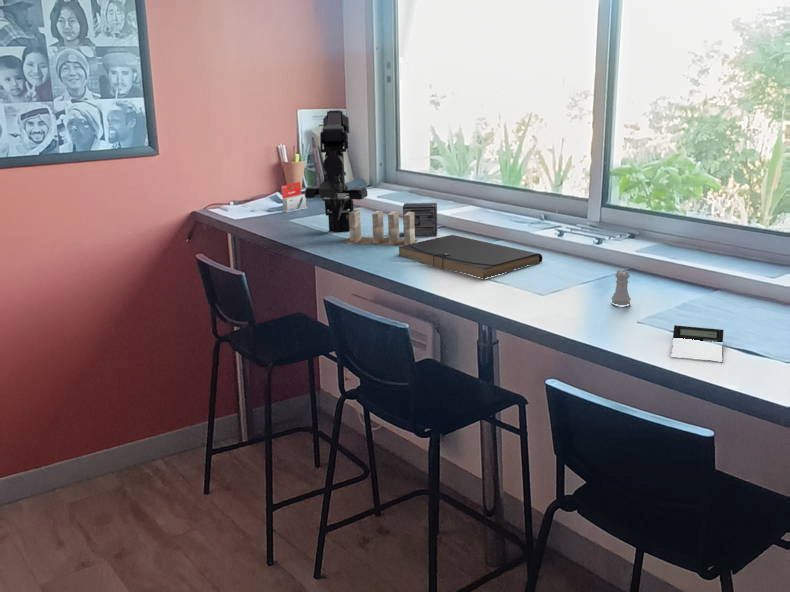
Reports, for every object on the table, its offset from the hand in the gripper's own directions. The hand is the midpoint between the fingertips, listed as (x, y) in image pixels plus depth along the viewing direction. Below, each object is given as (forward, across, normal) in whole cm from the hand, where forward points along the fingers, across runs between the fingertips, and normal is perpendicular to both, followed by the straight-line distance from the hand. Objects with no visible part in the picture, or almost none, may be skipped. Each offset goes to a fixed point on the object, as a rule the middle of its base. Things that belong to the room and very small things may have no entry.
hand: (337, 220), depth 252 cm
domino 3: (+6, +18, 0) cm, 19 cm away
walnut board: (+7, +14, 0) cm, 15 cm away
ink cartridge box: (+7, -35, +43) cm, 56 cm away
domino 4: (+6, +23, 0) cm, 24 cm away
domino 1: (+6, +6, 0) cm, 8 cm away
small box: (+7, +24, +12) cm, 27 cm away
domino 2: (+6, +13, 0) cm, 15 cm away
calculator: (+7, +104, -68) cm, 125 cm away
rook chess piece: (+7, +88, -43) cm, 98 cm away
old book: (+8, +45, -13) cm, 47 cm away
